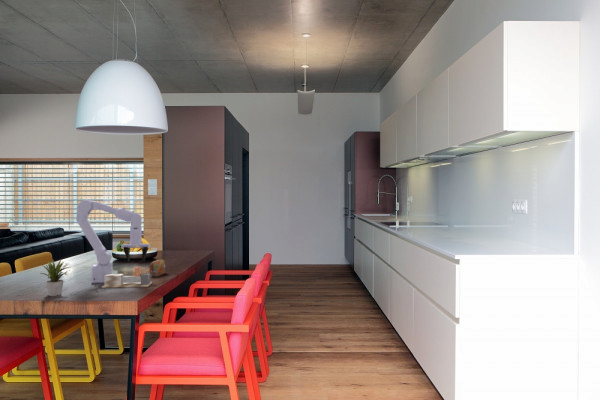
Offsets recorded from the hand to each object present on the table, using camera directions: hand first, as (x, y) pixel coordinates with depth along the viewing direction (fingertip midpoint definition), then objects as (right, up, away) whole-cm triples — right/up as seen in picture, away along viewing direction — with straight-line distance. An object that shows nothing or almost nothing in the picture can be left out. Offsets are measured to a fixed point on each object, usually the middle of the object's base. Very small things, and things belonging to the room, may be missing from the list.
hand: (135, 261), depth 251 cm
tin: (+7, -10, +16) cm, 20 cm away
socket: (+10, -10, -14) cm, 19 cm away
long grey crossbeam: (+3, -9, -14) cm, 17 cm away
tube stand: (+1, -10, -15) cm, 18 cm away
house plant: (-23, -10, -39) cm, 46 cm away
